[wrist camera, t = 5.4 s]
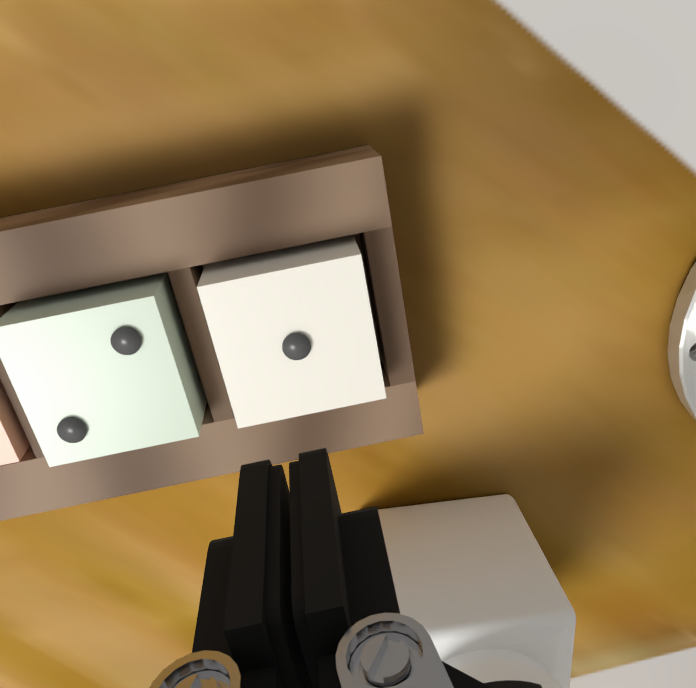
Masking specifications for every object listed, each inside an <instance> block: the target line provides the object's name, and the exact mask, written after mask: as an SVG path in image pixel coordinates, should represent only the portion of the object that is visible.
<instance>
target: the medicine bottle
mask: <svg viewBox="0 0 696 688" xmlns="http://www.w3.org/2000/svg"><path fill="white" fill-rule="evenodd" d="M378 513H379V517H380V522H381V527H382V531H383V536H384V540H385V545H386V550H387V554H388V559H389V564H390V568H391V573H392V578H393V582H394V587H395V591H396V596H397V601H398V605H399V610H400V614H402V615H405V616H408V617H411V618H413V619H414V620H416V621H417V622H419V623H420V624H421V625H423V626H424V628H425V629H426V631H427V632H428V634H429V635H430V637H431V639H432V641H433V643H434V645H435V648H436V650H437V652H438V654H439V656H440V659H441V661H443V662H445V663H447V664H449V665H450V666H452V667H454V668H456V669H458V670H460V671H462V672H464V673H465V674H467V675H469V676H471V677H473V678H475V679H477V680H479V681H480V682H482V683H484V684H486V685H488V686H490V687H492V688H569V686H570V676H571V665H572V655H573V645H574V635H575V624H576V616H575V612H574V609H573V608H572V606H571V604H570V602H569V600H568V598H567V596H566V594H565V593H564V591H563V589H562V587H561V585H560V583H559V581H558V580H557V578H556V576H555V574H554V572H553V570H552V568H551V567H550V565H549V563H548V561H547V559H546V557H545V555H544V554H543V552H542V550H541V548H540V546H539V544H538V542H537V541H536V539H535V537H534V535H533V533H532V531H531V529H530V528H529V526H528V524H527V522H526V520H525V518H524V516H523V514H522V513H521V511H520V509H519V507H518V505H517V503H516V501H515V500H514V498H513V497H512V496H510V495H509V494H502V495H494V496H486V497H477V498H469V499H461V500H452V501H444V502H436V503H427V504H419V505H411V506H403V507H394V508H386V509H378Z"/></svg>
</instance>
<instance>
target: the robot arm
mask: <svg viewBox="0 0 696 688" xmlns="http://www.w3.org/2000/svg"><path fill="white" fill-rule="evenodd" d="M667 353H668V361H669V369H670V376H671V379H672V382H673V385H674V387H675V390H676V393H677V395H678V398H679V400H680V401H681V402H682V404H683V405H684V407H685V408H686V410H687V411H688V412H689V414H690V415H691V417H693V418H694V419H695V420H696V262H695V264H694V265H693V267H692V268H691V270H690V272H689V274H688V276H687V278H686V280H685V283H684V285H683V287H682V289H681V291H680V293H679V295H678V297H677V301H676V305H675V308H674V312H673V315H672V319H671V323H670V327H669V339H668V352H667ZM289 484H290V493H289V489H288V485H287V481H286V478H285V474H284V470H283V467H282V465H276V466H272V464H271V461H270V460H269V459H268V460H263V461H258V462H254V463H249V464H244V465H241V468H240V477H239V487H238V496H237V506H236V516H235V525H234V535H233V536H232V537H227V538H222V539H217V540H212V541H211V542H210V543H209V547H208V552H207V559H206V565H205V572H204V578H203V585H202V591H201V598H200V604H199V611H198V617H197V624H196V630H195V637H194V643H193V650H192V653H190V654H188V655H186V656H184V657H182V658H180V659H178V660H176V661H174V662H173V663H172V664H170V665H169V666H168V667H167V668H165V669H164V670H163V671H162V672H161V673H160V674H159V675H158V677H157V678H156V679H155V680H154V681H153V682H152V684H151V686H150V688H492V687H490V686H488V685H486V684H484V683H482V682H480V681H479V680H477V679H475V678H473V677H471V676H469V675H467V674H465V673H464V672H462V671H460V670H458V669H456V668H454V667H452V666H450V665H449V664H447V663H445V662H443V661H441V659H440V656H439V654H438V652H437V650H436V648H435V645H434V643H433V641H432V639H431V637H430V635H429V634H428V632H427V631H426V629H425V628H424V626H423V625H421V624H420V623H419V622H417V621H416V620H414V619H413V618H411V617H408V616H405V615H402V614H400V610H399V605H398V601H397V596H396V591H395V587H394V582H393V578H392V573H391V568H390V564H389V559H388V554H387V550H386V545H385V540H384V536H383V531H382V527H381V522H380V517H379V513H378V508H377V506H376V507H371V508H366V509H362V510H357V511H352V512H347V513H341V509H340V504H339V500H338V496H337V491H336V487H335V483H334V478H333V474H332V470H331V465H330V461H329V457H328V452H327V449H326V448H322V449H317V450H312V451H307V452H302V453H299V461H295V462H290V463H289Z"/></svg>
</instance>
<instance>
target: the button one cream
mask: <svg viewBox="0 0 696 688" xmlns="http://www.w3.org/2000/svg"><path fill="white" fill-rule="evenodd" d="M197 290H198V294H199V297H200V300H201V304H202V307H203V311H204V314H205V318H206V321H207V324H208V328H209V331H210V335H211V338H212V341H213V345H214V348H215V352H216V355H217V359H218V362H219V365H220V369H221V372H222V376H223V379H224V382H225V386H226V389H227V393H228V396H229V400H230V403H231V406H232V410H233V413H234V417H235V420H236V424H237V427H238V429H239V428H244V427H248V426H253V425H258V424H263V423H268V422H273V421H278V420H283V419H288V418H292V417H297V416H302V415H307V414H312V413H317V412H322V411H327V410H332V409H336V408H341V407H346V406H351V405H356V404H361V403H366V402H371V401H376V400H380V399H385V398H386V393H385V387H384V381H383V376H382V370H381V364H380V359H379V353H378V347H377V341H376V336H375V330H374V324H373V319H372V313H371V307H370V302H369V296H368V290H367V285H366V279H365V273H364V267H363V262H362V256H361V253H360V250H359V248H358V245H357V243H356V241H355V238H354V236H353V235H350V236H345V237H340V238H335V239H330V240H325V241H320V242H315V243H310V244H305V245H300V246H295V247H290V248H285V249H280V250H275V251H270V252H265V253H260V254H255V255H250V256H245V257H240V258H235V259H230V260H225V261H220V262H215V263H210V264H205V267H204V270H203V272H202V275H201V277H200V280H199V282H198V285H197Z"/></svg>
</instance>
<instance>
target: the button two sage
mask: <svg viewBox="0 0 696 688" xmlns="http://www.w3.org/2000/svg"><path fill="white" fill-rule="evenodd" d="M0 358H1V360H2V363H3V365H4V367H5V369H6V372H7V374H8V376H9V378H10V380H11V383H12V385H13V387H14V389H15V392H16V394H17V396H18V398H19V401H20V403H21V405H22V407H23V409H24V412H25V414H26V416H27V418H28V421H29V423H30V425H31V427H32V429H33V432H34V434H35V436H36V438H37V441H38V443H39V445H40V447H41V450H42V452H43V454H44V456H45V458H46V461H47V463H48V465H49V467H53V466H58V465H63V464H68V463H72V462H77V461H82V460H87V459H92V458H97V457H102V456H107V455H112V454H116V453H121V452H126V451H131V450H136V449H141V448H146V447H151V446H156V445H160V444H165V443H170V442H175V441H180V440H185V439H190V438H195V437H199V435H200V431H201V426H202V422H203V418H204V413H205V409H206V404H207V400H206V397H205V393H204V390H203V387H202V384H201V380H200V377H199V374H198V371H197V368H196V364H195V361H194V358H193V355H192V351H191V348H190V345H189V342H188V338H187V335H186V332H185V329H184V326H183V322H182V319H181V316H180V313H179V309H178V306H177V303H176V300H175V296H174V293H173V290H172V287H171V284H170V280H169V277H168V274H167V272H165V273H160V274H155V275H150V276H145V277H140V278H135V279H130V280H125V281H120V282H115V283H110V284H105V285H100V286H95V287H91V288H86V289H81V290H76V291H71V292H66V293H61V294H56V295H51V296H46V297H41V298H36V299H31V300H26V301H21V302H18V303H16V304H15V305H14V306H13V307H12V308H11V309H10V310H9V311H8V312H6V313H5V314H4V315H3V316H2V317H1V318H0Z"/></svg>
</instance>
